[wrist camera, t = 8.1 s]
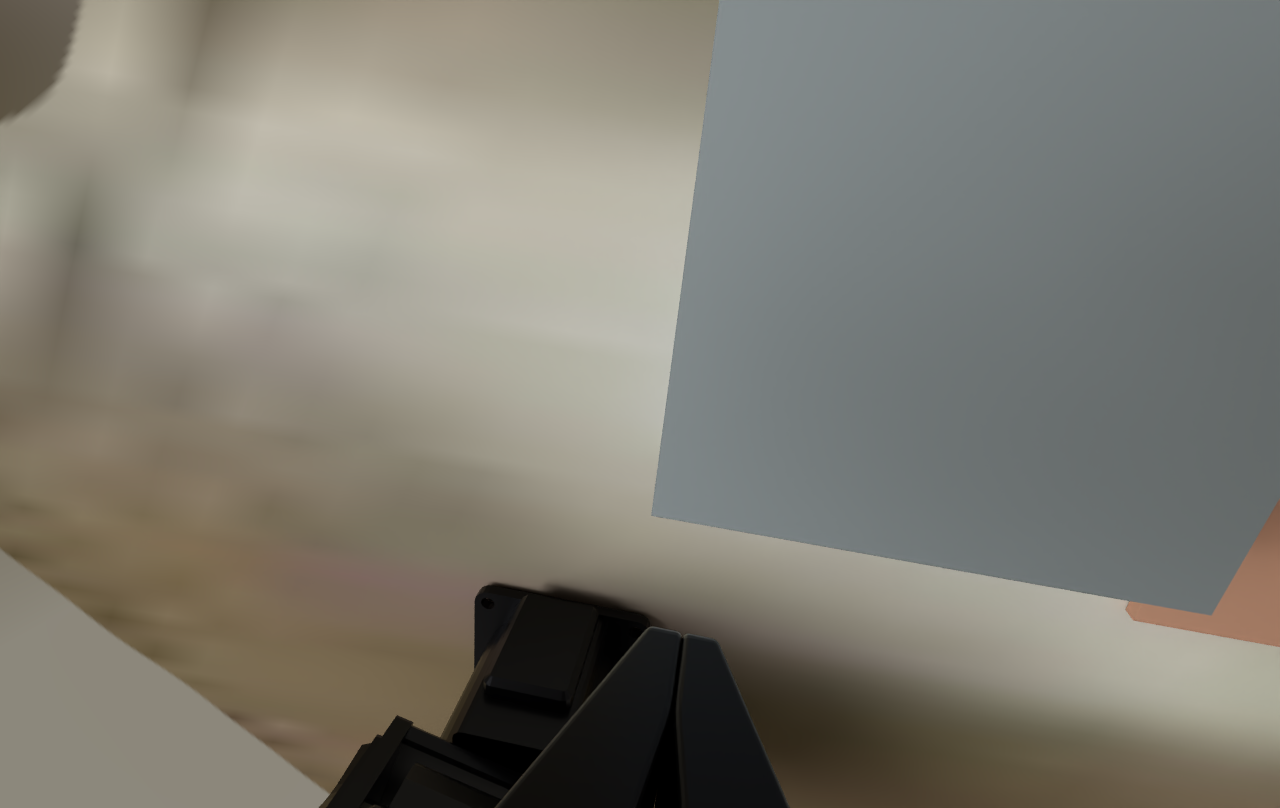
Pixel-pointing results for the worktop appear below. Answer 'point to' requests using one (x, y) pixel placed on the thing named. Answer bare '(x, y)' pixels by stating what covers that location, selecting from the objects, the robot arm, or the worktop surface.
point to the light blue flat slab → (987, 288)
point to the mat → (1236, 597)
